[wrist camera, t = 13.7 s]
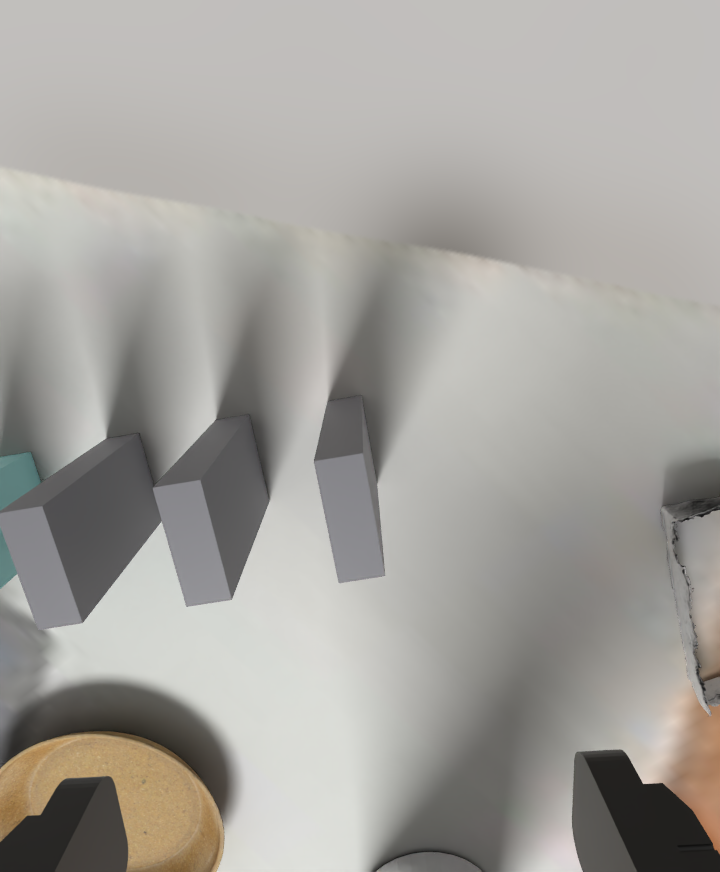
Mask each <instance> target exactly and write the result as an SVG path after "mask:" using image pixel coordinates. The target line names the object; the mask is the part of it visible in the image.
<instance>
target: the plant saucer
mask: <svg viewBox="0 0 720 872" xmlns="http://www.w3.org/2000/svg"><path fill="white" fill-rule="evenodd" d="M100 776H110V777H111V778H112V779H113V781H114V783H115V787H116V792H117V796H118V800H119V805H120V809H121V814H122V818H123V822H124V827H125V831H126V836H127V840H128V864H127V870H126V872H216V871H217V869H218V867H219V864H220V861H221V858H222V854H223V849H224V827H223V822H222V818H221V815H220V812H219V809H218V807H217V805H216V803H215V801H214V799H213V797H212V795H211V793H210V791H209V790H208V788H207V787H206V785H205V784H204V782H203V781H202V780H201V778H200V777H199V776H198V775H197V773H196V772H195V771H194V770H193V769H192V768H191V767H190V766H189V765H188V764H187V763H186V762H185V761H183V760H182V759H181V758H180V757H179V756H177V755H176V754H175V753H173V752H172V751H170V750H169V749H167V748H165V747H163V746H162V745H160V744H158V743H155V742H153V741H151V740H148V739H145V738H143V737H139V736H136V735H132V734H127V733H120V732H112V731H90V732H79V733H72V734H68V735H63V736H59V737H56V738H52V739H49V740H46V741H43V742H40V743H37V744H35V745H33V746H31V747H29V748H27V749H25V750H23V751H21V752H20V753H18V754H17V755H15V756H14V757H13V758H11V759H10V760H9V761H7V762H6V763H5V764H4V765H3V766H2V767H1V768H0V842H1V841H2V840H3V839H4V838H5V837H6V836H7V835H8V834H9V833H10V832H11V831H12V830H13V829H14V828H15V827H16V826H17V825H18V824H19V823H20V822H21V821H22V820H23V819H24V818H25V817H26V816H31V815H41V813H42V812H43V810H44V808H45V806H46V805H47V803H48V801H49V800H50V798H51V796H52V794H53V793H54V791H55V789H56V788H57V786H58V785H59V784H60V782H61V781H63V780H64V779H66V778H82V777H100Z"/></svg>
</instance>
